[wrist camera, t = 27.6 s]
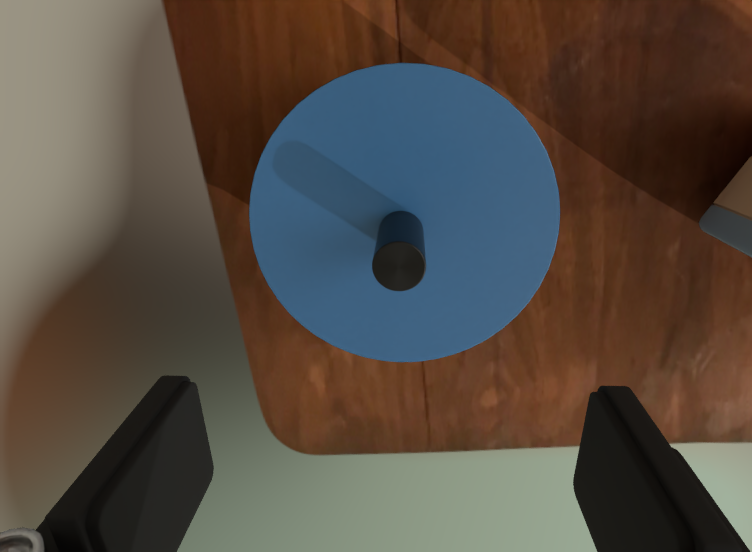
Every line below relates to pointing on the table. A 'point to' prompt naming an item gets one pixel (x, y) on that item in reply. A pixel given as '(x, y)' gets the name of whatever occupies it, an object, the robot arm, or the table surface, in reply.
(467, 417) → the table surface
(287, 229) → the lid
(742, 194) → the alarm clock
